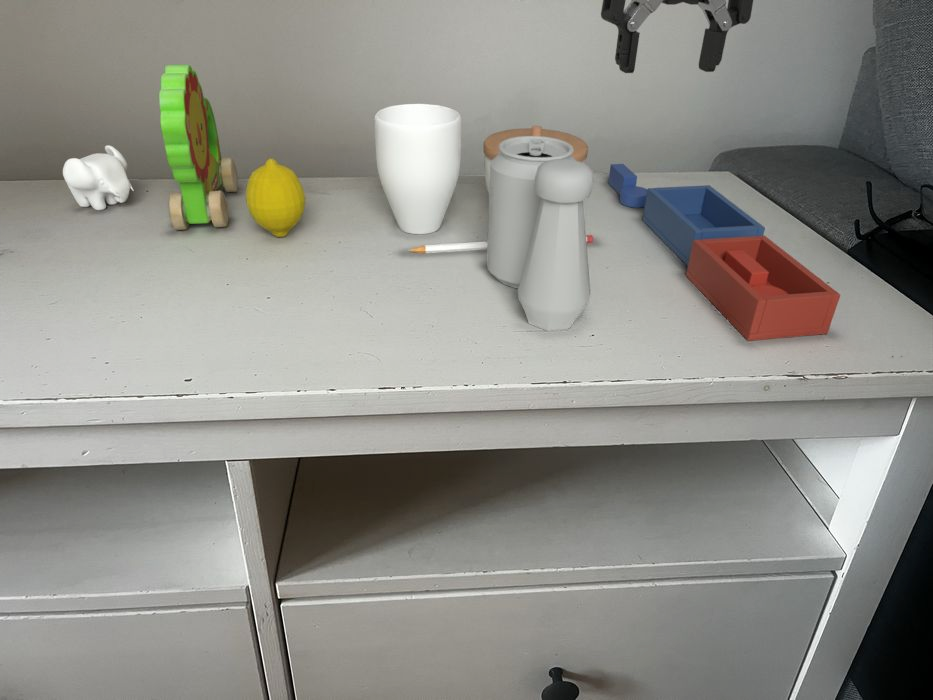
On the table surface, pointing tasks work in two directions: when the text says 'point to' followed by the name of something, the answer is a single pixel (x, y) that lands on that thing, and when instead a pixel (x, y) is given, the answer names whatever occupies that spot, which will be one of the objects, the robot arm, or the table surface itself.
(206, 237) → the table surface
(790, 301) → the red bin
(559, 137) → the trinket box
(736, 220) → the blue bin
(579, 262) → the salt shaker
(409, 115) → the mug
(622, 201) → the blue spoon
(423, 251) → the pencil
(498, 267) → the can
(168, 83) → the toy lion
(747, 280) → the red spoon
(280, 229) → the fruit
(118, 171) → the elephant figurine
